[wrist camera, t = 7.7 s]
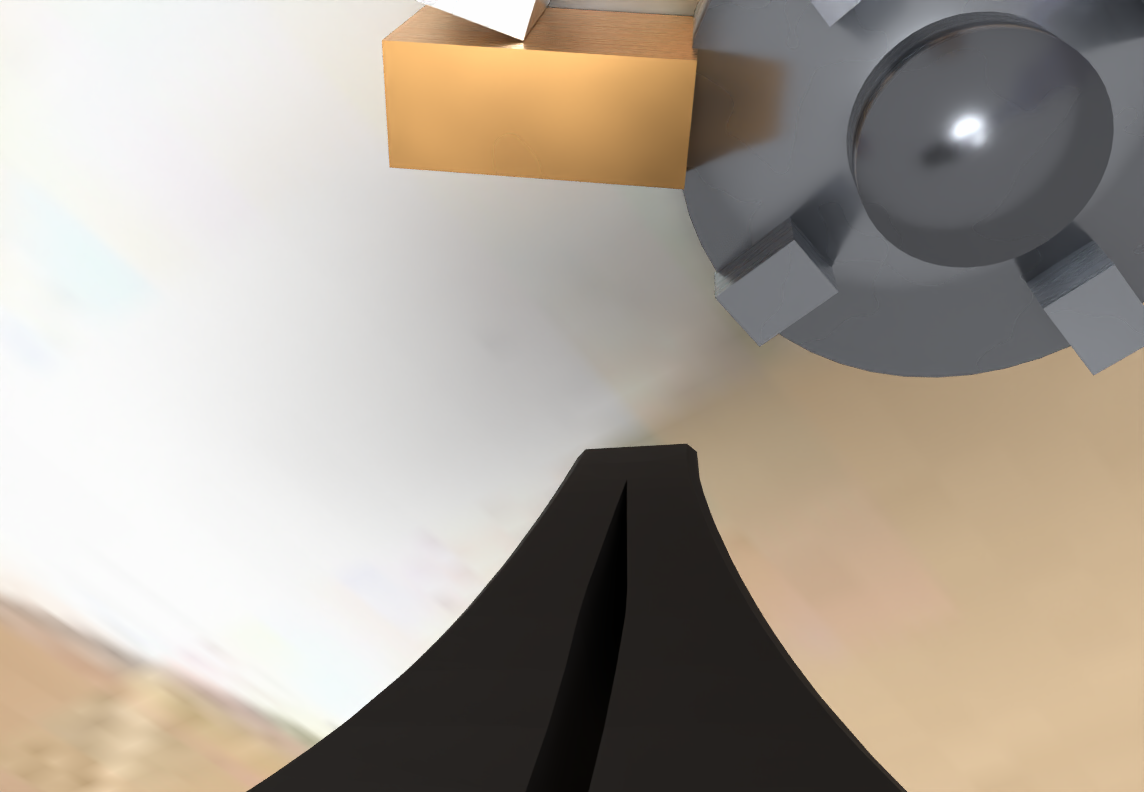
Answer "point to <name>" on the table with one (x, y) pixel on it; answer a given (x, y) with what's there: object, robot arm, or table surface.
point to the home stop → (496, 13)
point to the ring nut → (834, 158)
